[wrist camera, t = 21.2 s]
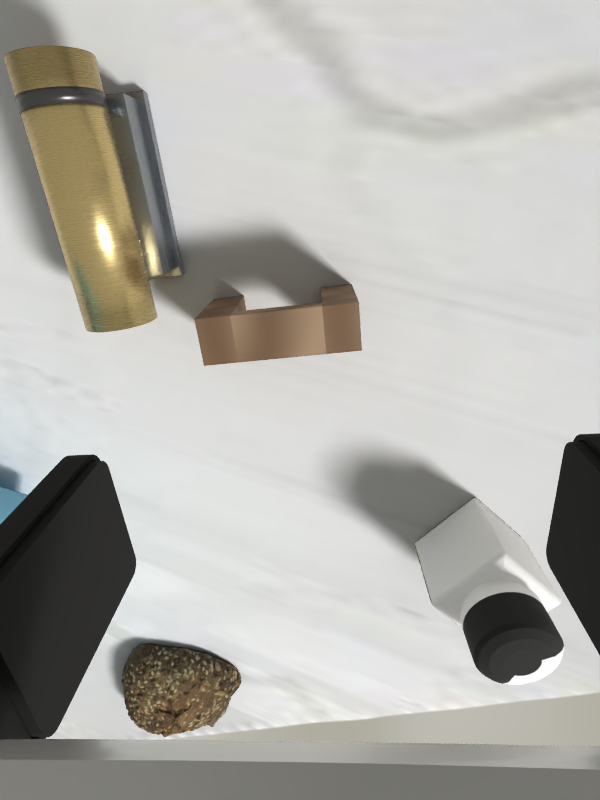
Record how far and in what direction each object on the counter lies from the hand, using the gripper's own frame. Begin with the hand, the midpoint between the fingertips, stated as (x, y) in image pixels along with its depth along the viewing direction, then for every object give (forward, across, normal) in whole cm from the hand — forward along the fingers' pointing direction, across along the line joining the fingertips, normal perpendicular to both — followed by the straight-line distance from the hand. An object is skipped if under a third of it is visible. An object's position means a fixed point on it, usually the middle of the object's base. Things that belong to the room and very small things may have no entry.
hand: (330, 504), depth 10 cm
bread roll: (+25, +19, +43) cm, 53 cm away
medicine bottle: (+26, -11, +24) cm, 37 cm away
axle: (+23, +13, -6) cm, 27 cm away
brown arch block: (+26, +3, +2) cm, 26 cm away
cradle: (+26, +14, -6) cm, 30 cm away
